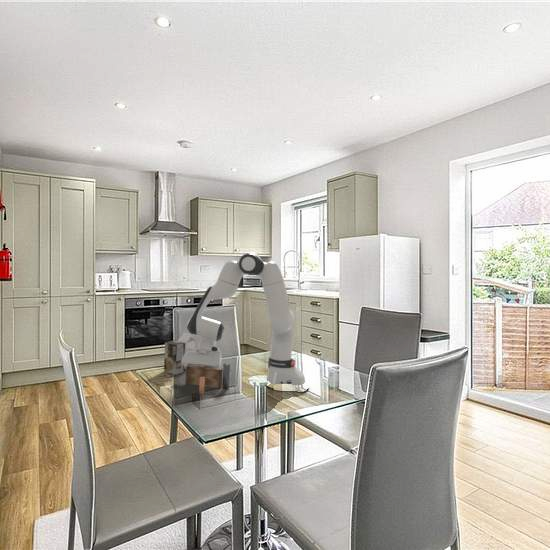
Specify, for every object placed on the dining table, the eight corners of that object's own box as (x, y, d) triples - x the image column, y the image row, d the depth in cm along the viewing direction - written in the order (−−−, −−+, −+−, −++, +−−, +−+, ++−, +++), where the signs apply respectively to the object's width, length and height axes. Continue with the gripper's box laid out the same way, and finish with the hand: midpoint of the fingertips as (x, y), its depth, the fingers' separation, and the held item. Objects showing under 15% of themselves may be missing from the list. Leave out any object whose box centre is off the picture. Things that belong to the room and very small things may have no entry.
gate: (221, 386, 197) (222, 368, 197) (220, 387, 195) (221, 369, 195) (186, 382, 200) (187, 365, 199) (185, 383, 198) (186, 366, 197)
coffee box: (184, 372, 217) (185, 342, 216) (175, 375, 212) (177, 344, 211) (172, 368, 222) (173, 340, 221) (163, 371, 216) (164, 342, 216)
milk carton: (184, 369, 222) (186, 335, 221) (176, 366, 227) (177, 333, 226) (194, 367, 228) (196, 333, 227) (186, 364, 232) (187, 331, 231)
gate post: (229, 387, 197) (230, 363, 197) (227, 389, 194) (228, 365, 193) (223, 386, 198) (224, 362, 197) (221, 389, 195) (222, 364, 194)
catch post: (205, 392, 189) (205, 376, 188) (203, 394, 186) (203, 378, 186) (200, 391, 189) (200, 376, 189) (198, 393, 187) (199, 377, 186)
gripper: (184, 345, 208) (175, 368, 199) (222, 349, 204) (215, 373, 195) (187, 351, 212) (179, 375, 203) (224, 355, 209) (217, 379, 200)
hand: (197, 374), depth 199 cm, fingers closed
